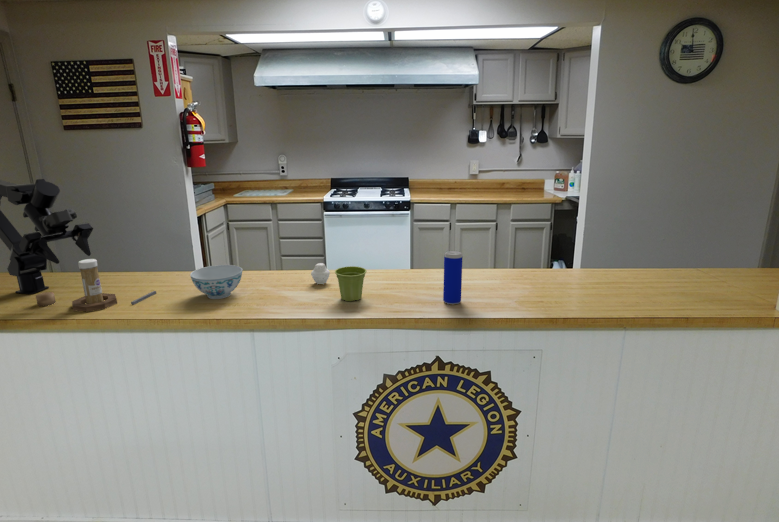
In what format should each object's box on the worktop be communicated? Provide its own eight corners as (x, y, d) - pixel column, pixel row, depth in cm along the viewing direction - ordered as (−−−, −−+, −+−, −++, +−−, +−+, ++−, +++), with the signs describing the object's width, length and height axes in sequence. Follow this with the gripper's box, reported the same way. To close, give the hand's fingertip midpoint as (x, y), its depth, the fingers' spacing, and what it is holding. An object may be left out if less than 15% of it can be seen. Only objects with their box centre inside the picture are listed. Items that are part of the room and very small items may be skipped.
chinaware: (210, 286, 156) (208, 263, 154) (253, 289, 153) (251, 265, 151) (182, 302, 142) (179, 277, 140) (228, 305, 139) (226, 280, 137)
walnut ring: (63, 310, 137) (62, 305, 136) (94, 297, 147) (93, 292, 147) (96, 312, 134) (95, 307, 134) (125, 299, 145) (124, 294, 144)
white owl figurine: (329, 286, 155) (328, 265, 153) (310, 286, 155) (309, 265, 153) (331, 280, 161) (330, 260, 159) (313, 280, 161) (312, 260, 159)
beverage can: (462, 300, 141) (464, 251, 137) (459, 306, 137) (460, 255, 133) (445, 298, 143) (446, 249, 139) (441, 304, 138) (442, 254, 134)
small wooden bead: (34, 307, 139) (32, 297, 139) (42, 301, 144) (40, 292, 143) (51, 306, 140) (49, 296, 139) (58, 301, 144) (56, 291, 143)
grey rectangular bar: (133, 304, 140) (133, 302, 140) (131, 304, 140) (130, 301, 140) (156, 293, 150) (156, 291, 150) (154, 293, 150) (153, 290, 150)
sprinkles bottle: (100, 306, 139) (92, 262, 135) (83, 307, 138) (74, 262, 135) (107, 301, 143) (99, 257, 140) (90, 302, 143) (82, 258, 139)
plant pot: (372, 295, 146) (371, 268, 144) (357, 305, 138) (356, 277, 136) (345, 291, 150) (344, 264, 148) (330, 301, 142) (328, 273, 139)
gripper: (16, 205, 129) (49, 249, 127) (83, 196, 145) (114, 235, 144) (5, 231, 134) (37, 273, 133) (72, 220, 150) (101, 257, 149)
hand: (74, 258), depth 139 cm, fingers open, 9 cm apart
